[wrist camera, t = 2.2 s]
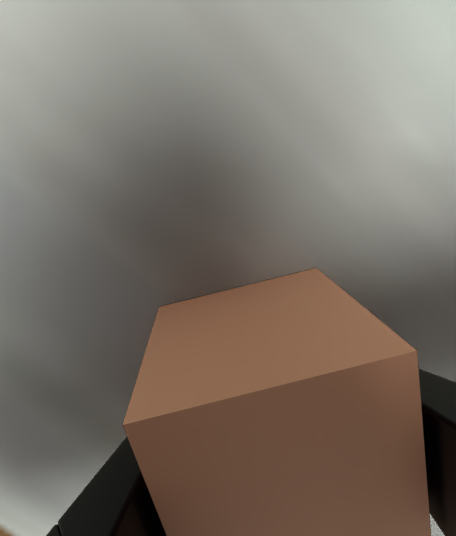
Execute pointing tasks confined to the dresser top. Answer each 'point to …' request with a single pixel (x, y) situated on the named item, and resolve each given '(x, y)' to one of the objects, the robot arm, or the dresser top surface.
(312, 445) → the terracotta cube
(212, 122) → the dresser top surface
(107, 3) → the dresser top surface
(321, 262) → the dresser top surface
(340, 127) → the dresser top surface
